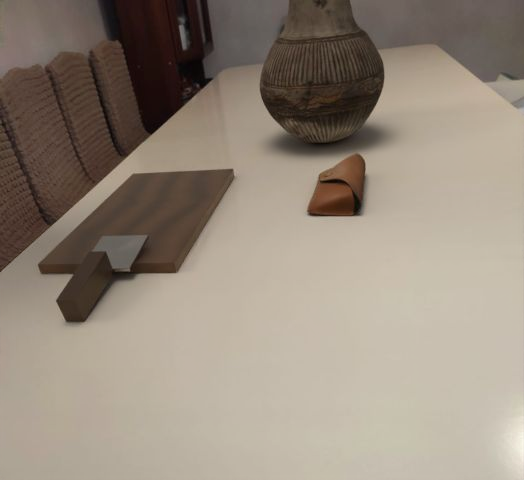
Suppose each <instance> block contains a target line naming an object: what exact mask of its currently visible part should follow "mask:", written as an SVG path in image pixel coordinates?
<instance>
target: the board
mask: <svg viewBox="0 0 524 480" xmlns="http://www.w3.org/2000/svg"><path fill="white" fill-rule="evenodd" d="M234 178H235V171H234V168H220V169H219V168H217V169H201V170H199V169H198V170H182V171H181V170H180V171H179V170H178V171H160V172H158V171H157V172H141V173H140V172H139V173H132V174H131V175H130V176H129V177H127V179H126V180H124V181H123V183H122V184H120V185H119V186H118V187H117V188H116V189H115V190H114V191H113V192H112V193H111V194H110V195H109V196H108V197H106V198H105V200H104V201H102V202H101V203H100V204H99V205H98V206H97V207H96V208H95V209H94V210H93V211H92V212H91V213H90V214H89V215H88V216H86V218H85V219H83V221H81V222H80V224H78V225H77V226H76V227H75V228H74V229H73V230H72V231H71V232H69V234H68V235H67V236H66V237H65V238H63V240H61V241H60V242H59V243H58V244H57V245H56V246H55V247H54V248H53V249H52V250H51V251H50V252H49V253H48V254H47V255H46V256H44V258H42V259H41V260H40V261H39V262H38V263H37V268H38V270H39V272H40V274H41V275H43V274H44V273H73V274H74V273H75V271H76V270H77V269H78V267H79V266H80V264H81V263H82V261H83V260H84V258H85V257H86V255H87V254H88V252H92V251H93V249H94V248H95V246H96V245H97V243H98V242H99V240H100V239H101V237H102V236H128V235H148V237H149V239H148V240H147V242H146V244H145V246H144V248H143V249H142V251H141V253H140V255H139V257H138V258H137V260H136V262H135V264H134V265H133V267H132V269H131V271H114V272H113V274H153V273H154V274H157V273H158V274H159V273H160V274H161V273H163V274H165V273H168V274H169V273H176V274H177V272H178V270H180V268H181V266H182V264H183V262H184V260H185V259H186V257H187V255H188V254H189V252H190V251H191V249H192V247H193V246H194V244H195V243H196V241H197V239H198V238H199V236H200V235H201V233H202V231H203V229H204V228H205V227H206V225H207V223H208V221H209V219H210V218H211V217H212V214H213V213H214V211H215V209H216V208H217V206H218V205H219V203H220V201H221V200H222V198H223V196H224V195H225V193H226V192H227V190H228V188H229V187H230V185H231V183H232V181H233V180H234ZM44 275H45V274H44Z"/></svg>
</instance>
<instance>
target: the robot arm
mask: <svg viewBox="0 0 524 480" xmlns="http://www.w3.org/2000/svg"><path fill="white" fill-rule="evenodd" d="M6 10H7V9H6V5H5V2H4V0H0V48H4V47H6V46H7V43H8V42H7V40H6V36H5V32H4V30H3V27H4V24H5V23H4V22H5V16H6Z"/></svg>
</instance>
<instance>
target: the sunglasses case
mask: <svg viewBox="0 0 524 480" xmlns="http://www.w3.org/2000/svg"><path fill="white" fill-rule="evenodd" d="M366 165H367V164H366V161H365V159H364V157H363V156H362V155H361V154H360V153H358V152H357V153H354V154H351V155H349V156H347V157H345V158H344V159H342V160H341V161H339V162H338V163H336V164H335V165H334V166H332V167H331V168H328V169H326V170H323V171H322V172H320V173H319V174H318V177H317V182H316V186H315V187H314V188H315V189H314V191H313V193H312V195H311V198H310V200H309V203H308V205H307V209H306V213H308V214H310V215H311V214H312V215H318V216H327V217H352V216H354V215H356V214H357V213H359V212H360V210H361V208H362V202H363V195H364V185H365V179H366Z"/></svg>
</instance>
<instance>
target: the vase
mask: <svg viewBox="0 0 524 480" xmlns="http://www.w3.org/2000/svg"><path fill="white" fill-rule="evenodd" d="M385 76H386V75H385V65H384V61H383V59H382V56H381V54H380V52H379V50H378V48H377V47H376V45H375V42H373V39H371V37H370V35H369V33H367V32H366V31H365V30H364V29H362V27H360V26H359V25H358V23H357V22H356V20H355V17H354V14H353V10H352V5H351V0H288V10H287V15H286V22H285V25H284V28H283V30H282V32H281V33H280V35H279V36H278V37H277V38H276V39H275V40H274V42H273V43H272V45H271V47H270V48H269V51H268V53H267V56H266V57H265V60H264V62H263V66H262V69H261V72H260V79H259V94H260V97H261V100H262V103H263V105H264V107H265V108H266V110H267V113H268V114H269V115H270V117H271V118H272V119H273V120H274V121H275V122H276V123H277V124H278V125H279V126H280V127H281V128H282V129H283V130H285V132H287V133H288V134H289V135H291V136H293V137H294V138H296V139H298V140H301V141H303V142H306V143H312V144H326V143H333V142H336V141H341V140H343V139H345V138H347V137H349V136H351V135H353V134H354V133H356V132H357V131H358V130H360V129H361V128H362V127H363V126H364V124H365V123H366V122H367V120H368V119H369V118H370V117H371V114H372V113H373V111H374V110H375V108H376V106H377V104H378V102H379V100H380V97H381V94H382V92H383V88H384V85H385Z"/></svg>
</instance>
